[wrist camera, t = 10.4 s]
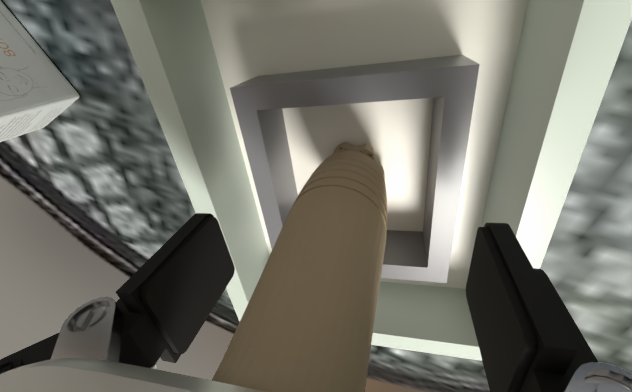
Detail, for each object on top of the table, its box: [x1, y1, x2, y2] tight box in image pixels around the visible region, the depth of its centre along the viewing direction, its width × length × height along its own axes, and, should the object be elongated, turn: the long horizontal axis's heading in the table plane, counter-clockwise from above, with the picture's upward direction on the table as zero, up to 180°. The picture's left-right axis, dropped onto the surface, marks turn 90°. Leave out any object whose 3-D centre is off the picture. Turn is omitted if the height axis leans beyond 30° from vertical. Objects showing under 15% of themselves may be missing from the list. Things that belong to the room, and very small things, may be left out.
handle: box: [212, 142, 387, 392], centre depth 10 cm, size 5×6×15 cm
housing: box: [111, 0, 632, 361], centre depth 15 cm, size 20×16×6 cm
